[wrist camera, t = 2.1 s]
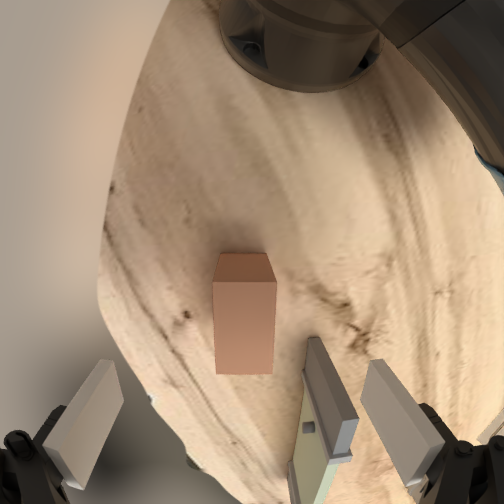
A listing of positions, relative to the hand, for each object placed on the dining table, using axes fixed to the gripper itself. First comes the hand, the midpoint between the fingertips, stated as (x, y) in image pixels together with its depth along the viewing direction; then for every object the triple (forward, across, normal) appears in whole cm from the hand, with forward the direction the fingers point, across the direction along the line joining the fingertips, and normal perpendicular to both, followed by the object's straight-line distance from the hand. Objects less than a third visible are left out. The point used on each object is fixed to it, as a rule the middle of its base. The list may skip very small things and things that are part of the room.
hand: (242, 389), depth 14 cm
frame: (+14, +7, -17) cm, 23 cm away
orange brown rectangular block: (+14, 0, 0) cm, 14 cm away
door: (+13, +7, -17) cm, 23 cm away
